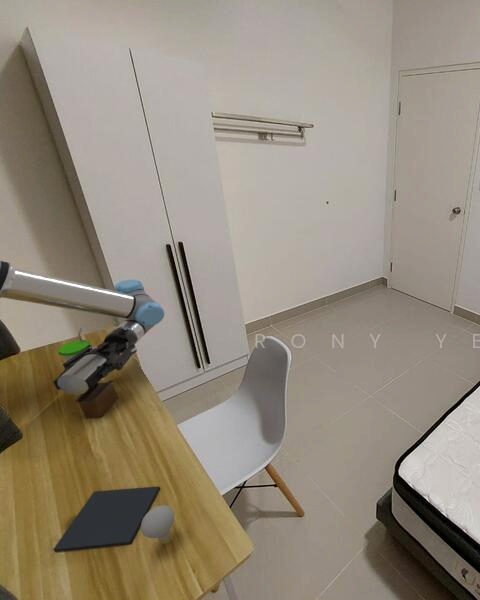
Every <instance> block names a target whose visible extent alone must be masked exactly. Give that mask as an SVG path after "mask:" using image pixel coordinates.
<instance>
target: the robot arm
mask: <svg viewBox="0 0 480 600" xmlns="http://www.w3.org/2000/svg"><path fill="white" fill-rule="evenodd" d="M113 288H114V290H111V289H107V288H103V287H99V286H94V285H90V284H86V283H81V282H77V281H72V280H67V279H64V278H60V277H54V276H51V275H46V274H42V273H37V272H33V271H28V270H24V269H20V268H16V267H14V265H13V264H11V262H8V261H4V260H0V299H8V300H13V301H21V302H27V303H31V304H38V305H44V306H49V307H55V308H62V309H67V310H74V311H80V312H85V313H90V314H96V315H103V316H109V317H115V318H120V319H125V320H123V321H122V322H121V323H120V324H119V325H118V326H116V327H115V328H114V329H113V330H112V331H111V332H110V333H108V334H106V335H105V337H104V339H103V342H101V343H99V344H98V345H97V346H92V344H90V345H87V346H86V347H85V348H84V350H82V351H81V352H79V353H78V354H77V355H75V356H74V357H72V358H71V359H69V360H68V361H65V362H63V363H62V366H63V369H64V370H63V371H62V372H61V373H60V374H59V376H58V377H56V378H55V379H54V380H53V381H52V383H53V384H54V386H55V389H56V390H62V389H61V388H60V387H59V386H58V384H57V380H58V379H59V377H61V376H62V375H63V374H64V373H65V372H66V371H68V370H69V369H70V368H71V367H72V366H73V365H75V364H76V363H77V362H78V361H79V360H81V359H82V357H83V355H85V354H86V353H88V352H100V353H103V354H105V355H107V356H108V357H109V358H110V359H108V360H107V362H106V363H105V364H106V367H105V365H101V366H100V367H99V368H98V369H97V370H96V371H95V372H94V373H93V374H92V375H91V376H90V377H89V378H88V379H87V380H86V383H87V385H88V387H89V388H93V387H94V386H95V385H96V384H97V383H100V381H101V380H102V379H104V378H107V376H108V375H109V374H110V373H112V372H114V371H115V370H116V371H120V370H122V369H123V368H124V366H125V365H126V364H127V363H128V361H129V360H130V359H131V357H132V356H133V355H134V354H135V353H138V350H137V347H136V344H137V343H138V342H139V341H140V340H141V339H142V338H143V337H144V336H145V335H146V334H147V333H148V332H149V331H150V330H151V329H152V328H153V327H154V326H156V325H158V324H159V323H161V322H162V321H163V319H164V317H165V310H164V308H163V307H162V306H161V304H160V303H159V302H158V301H155V300H154V299H153V298H152V297H151V296H150V295H149V294H148V293H147V292H146V291H145V287H144V286H143V284H142V282H141V281H140V280H138V279H126V280H122V281H119V282H117V283H116V284H115V285H114V287H113Z"/></svg>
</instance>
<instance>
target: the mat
mask: <svg viewBox="0 0 480 600" xmlns="http://www.w3.org/2000/svg"><path fill="white" fill-rule="evenodd" d="M160 490H161V487H160V486H159V485H158V486H157V485H156V486H146V487H144V486H143V487H134V488H133V487H132V488H121V489H120V488H119V489H108V490H96V491H93V492H92V493H91V495H90V497H89V498H88V499H87V501H86V502H85V503H84V505H83V506H82V508H81V509H80V511H79V512H78V513H77V515H76V516H75V517H74V519H73V521H72V522H71V523H70V525H69V526H68V528H67V529H66V530H65V531H64V533H63V535H62V536H61V538H60V539H59V541H58V542H57V543H56V544H55V546H54V548H53V549H52V550H53V552H54V553H59V552H70V551H79V550H89V549H98V548H108V547H117V546H128V545H132V543H133V541H134V540H135V538H136V537H137V534H138V532H139V530H140V529H141V523H142V520H143V518H144V516H145V515H146V514H147V513H148V512H149V511H150V510H151V507H152V505H153V504H154V502H155V499H156V497H157V496H158V494H159V493H160Z"/></svg>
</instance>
